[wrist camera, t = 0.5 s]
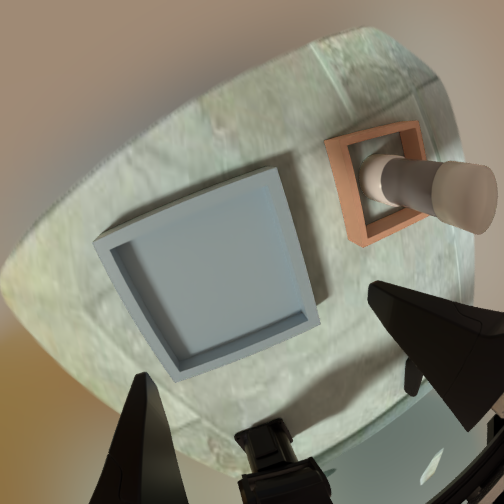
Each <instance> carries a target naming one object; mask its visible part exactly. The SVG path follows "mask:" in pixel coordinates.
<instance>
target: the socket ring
mask: <svg viewBox="0 0 504 504" xmlns="http://www.w3.org/2000/svg"><path fill="white" fill-rule="evenodd" d="M395 132H399V133H400V137H401V141H402V146H403V151H404V155H405V158H407V159H417V160H426V155H425V149H424V144H423V139H422V135H421V130H420V126H419V121H401V122H396V123H392V124H387V125H383V126H378V127H374V128H370V129H366V130H362V131H358V132H354V133H350V134H346V135H342V136H339V137H335V138H331V139H328V140H324V143H325V146H326V150H327V153H328V157H329V161H330V164H331V168H332V172H333V176H334V179H335V183H336V187H337V191H338V196H339V200H340V204H341V208H342V213H343V217H344V222H345V226H346V231H347V236H348V240H350V241H352V242H354V243H355V244H357V245H359V246H361V247H363V248H364V247H366V246H368V245H370V244H372V243H374V242H376V241H379V240H381V239H383V238H385V237H387V236H389V235H391V234H393V233H395V232H397V231H399V230H401V229H403V228H405V227H407V226H409V225H411V224H414V223H416V222H418V221H420V220H422V219H424V218H426V217H428V216H429V215H428V214H425V213H422V212H419V211H416V210H412V209H409V208H404V209H402V210H400V211H398V212H395V213H393V214H391V215H389V216H386V217H384V218H382V219H380V220H377V221H375V222H373V223H371V224H368V225H366V226H365V221H364V216H363V211H362V206H361V201H360V196H359V192H358V187H357V183H356V178H355V174H354V170H353V166H352V162H351V158H350V154H349V150H348V147H347V145H350V144H354V143H357V142H361V141H364V140H368V139H372V138H376V137H380V136H383V135H387V134H391V133H395ZM426 161H427V160H426Z"/></svg>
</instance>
